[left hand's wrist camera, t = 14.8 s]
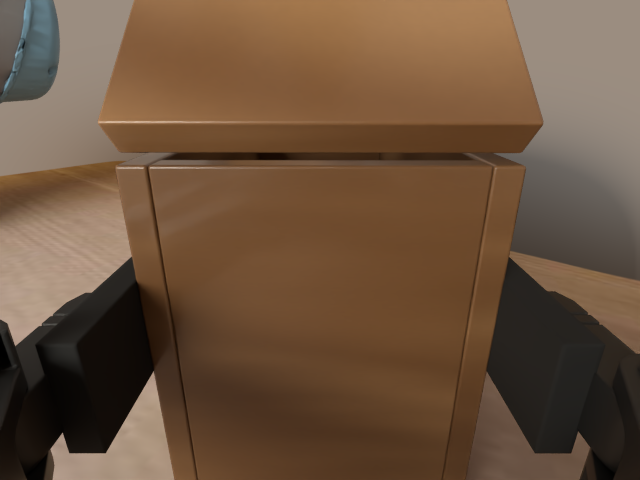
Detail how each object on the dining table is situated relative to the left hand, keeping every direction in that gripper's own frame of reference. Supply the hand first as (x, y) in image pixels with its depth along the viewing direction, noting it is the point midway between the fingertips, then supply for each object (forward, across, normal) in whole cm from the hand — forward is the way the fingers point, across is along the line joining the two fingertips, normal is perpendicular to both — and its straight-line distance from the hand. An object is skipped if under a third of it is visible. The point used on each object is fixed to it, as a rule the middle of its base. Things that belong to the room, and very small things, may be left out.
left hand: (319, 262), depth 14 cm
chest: (+4, 0, -6) cm, 8 cm away
